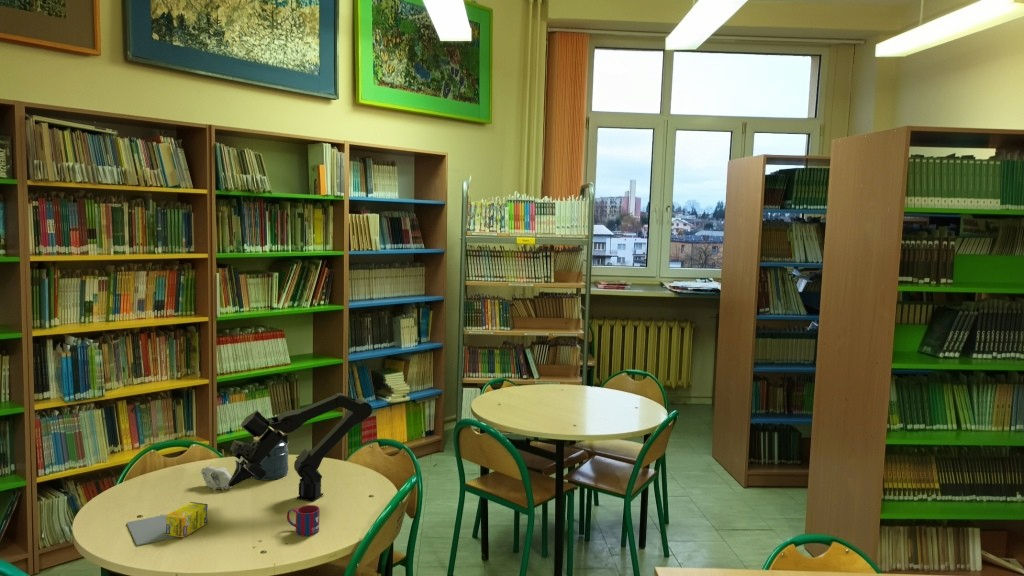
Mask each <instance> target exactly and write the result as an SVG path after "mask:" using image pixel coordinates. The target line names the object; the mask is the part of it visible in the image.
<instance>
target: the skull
mask: <svg viewBox="0 0 1024 576" xmlns="http://www.w3.org/2000/svg"><path fill="white" fill-rule="evenodd" d="M200 473H201V475H202V478H203V480H204V482H205V484H206V486H207V487H208V488H210V489H212V490H213V491H214V492H215V491H217V489H221V491H224V489H225V490H227V491H228V489H230V488H232V487H230V486H229V485H228V483H229V481H230V479H231V477H232V475H233V474H231V473H230V472H229V471H228V469H227V467H223V466H222V467H214V466H212V465H207V466H205V467H202V468H201V472H200Z"/></svg>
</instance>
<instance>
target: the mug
mask: <svg viewBox="0 0 1024 576" xmlns="http://www.w3.org/2000/svg"><path fill="white" fill-rule="evenodd" d="M290 512H294V513H295V523H294V522H293V521H292V520H291V517H290ZM286 520H287V522H288V523H289V525H291V526H292V527H294V528H295V534H296V535H297V536H300V537H311V536H314V535H316V534H317V533H319V532H320V507H319V506H318V505H314V504H306V505H305V504H304V505H302V506H298V507H297V508H290V509H289V510H288V511H287V512H286Z"/></svg>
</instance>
